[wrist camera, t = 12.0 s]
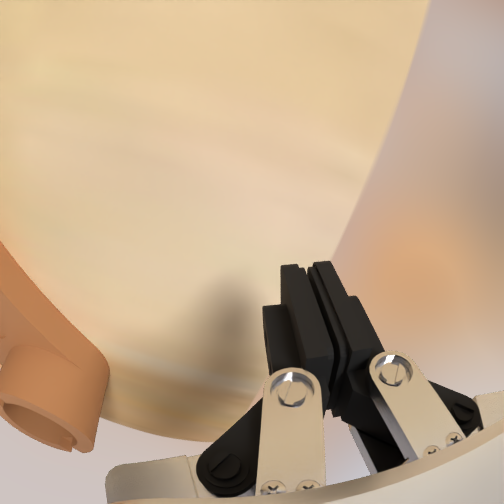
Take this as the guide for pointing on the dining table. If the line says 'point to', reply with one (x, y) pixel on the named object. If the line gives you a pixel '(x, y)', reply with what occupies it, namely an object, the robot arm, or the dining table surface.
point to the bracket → (46, 366)
